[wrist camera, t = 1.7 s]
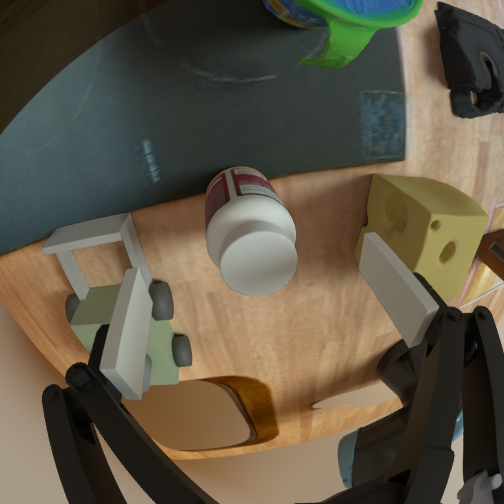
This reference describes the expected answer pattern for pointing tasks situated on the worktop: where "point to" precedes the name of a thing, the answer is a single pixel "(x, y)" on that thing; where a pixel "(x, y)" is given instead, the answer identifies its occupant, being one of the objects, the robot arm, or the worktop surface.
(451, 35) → the dark slate chunk
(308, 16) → the snack cup
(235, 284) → the pill bottle
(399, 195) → the cheese
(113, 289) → the toy lawn mower
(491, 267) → the pancake mix bag
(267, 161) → the worktop surface
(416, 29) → the worktop surface
